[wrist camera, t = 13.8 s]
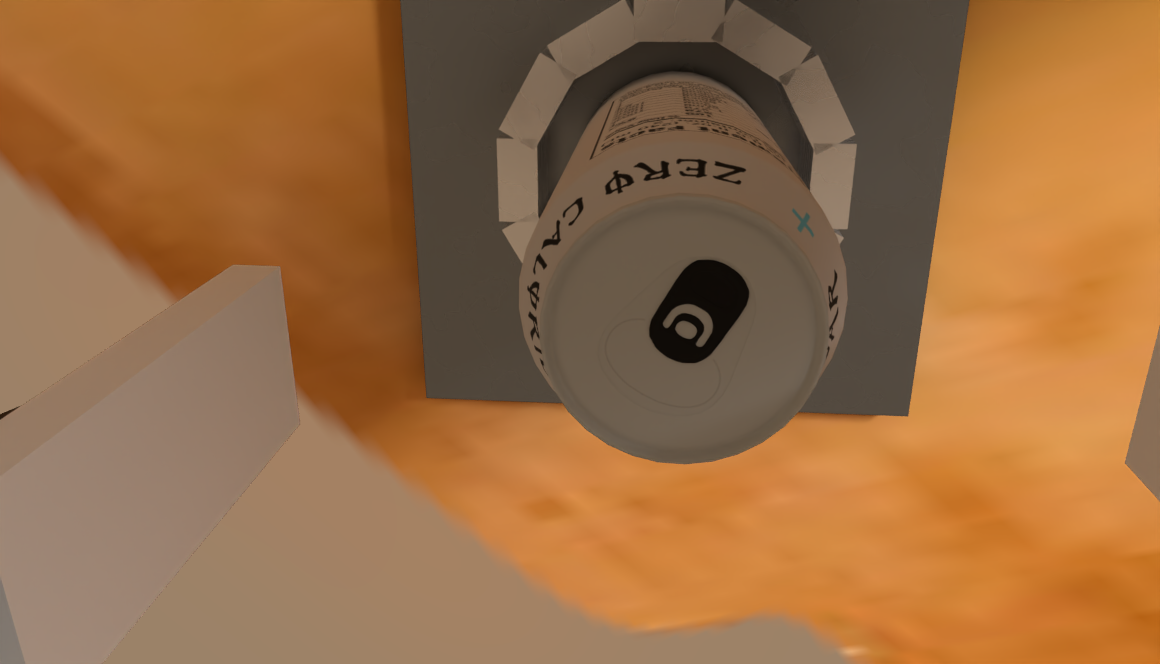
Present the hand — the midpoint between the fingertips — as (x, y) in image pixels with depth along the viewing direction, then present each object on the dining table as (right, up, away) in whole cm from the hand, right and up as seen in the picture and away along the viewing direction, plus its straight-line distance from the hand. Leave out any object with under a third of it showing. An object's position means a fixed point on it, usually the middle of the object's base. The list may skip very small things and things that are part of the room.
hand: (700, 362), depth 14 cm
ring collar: (+1, +6, +16) cm, 17 cm away
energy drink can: (+1, +6, +15) cm, 17 cm away
